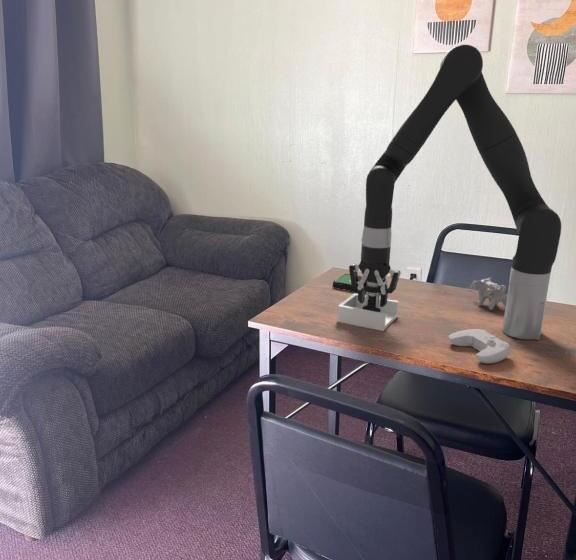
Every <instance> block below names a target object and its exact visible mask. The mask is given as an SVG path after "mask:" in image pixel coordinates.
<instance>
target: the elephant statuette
mask: <svg viewBox="0 0 576 560" xmlns="http://www.w3.org/2000/svg"><path fill="white" fill-rule="evenodd" d="M472 289H473V290H475V291H476V290H477V291H478V301H477V306H479V307H482V306H483V305H484V303H485V302H486V300H487V299H488V302H489V305H488V310H489V311H493V310H494V308H495V306H496V305H498V304H499V303H502V304H503V306H504V307H506V300H507V294H506V290H508V289H507V286H506V285H504V284H501V285H500V284H498V283H496V282H493V281H492V277H488V278H483V279H481V280H480V279H479V280H473V281H472V283H471V285H470V286H469V290H472Z"/></svg>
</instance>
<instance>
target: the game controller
mask: <svg viewBox="0 0 576 560" xmlns="http://www.w3.org/2000/svg"><path fill="white" fill-rule="evenodd" d="M447 340H448V342H449V343H450V344H452V345H455V346H459V347H473V349H475V350H477V351H479V352H477V353H476V354H475V359H476V360H477V361H479V362H480V363H483V364H486V365H487V364H496V363H499V362H501V361H502V360H505V359H506V358H507V357H508V356H509V354H510V352H511V349H510V348H511V347H510V344H509V343H508V342H506V341H503V340H501V339H500V338H498V337H496V335H494V334H493V335H492V334H490V333H489V332H487V330H485V329H479V328H471V329H466V330H464V329H463V330H460V331H459V330H458V331H455V332H453V333H450V334H449V335H448V339H447Z"/></svg>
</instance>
